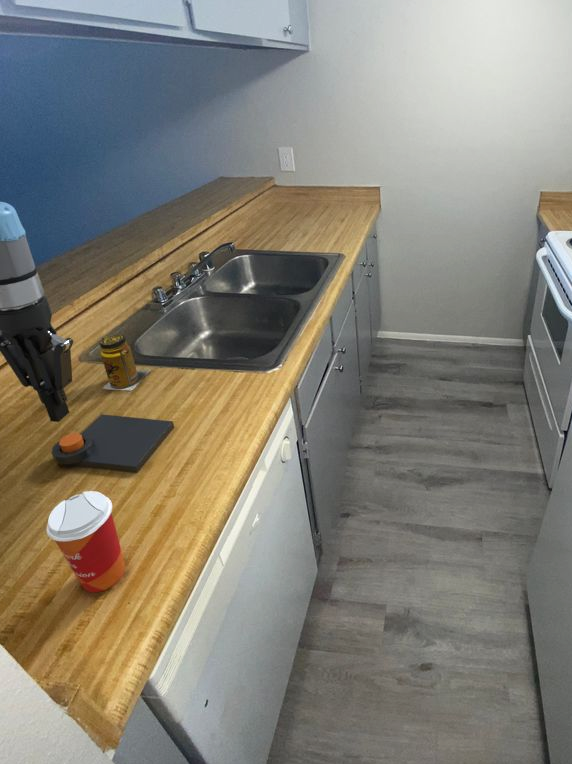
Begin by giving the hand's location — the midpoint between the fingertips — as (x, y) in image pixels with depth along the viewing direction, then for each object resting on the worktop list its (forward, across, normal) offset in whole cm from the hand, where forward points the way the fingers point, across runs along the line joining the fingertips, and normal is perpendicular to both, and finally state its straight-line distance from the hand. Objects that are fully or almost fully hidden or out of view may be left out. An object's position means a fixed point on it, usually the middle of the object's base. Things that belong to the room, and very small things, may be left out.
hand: (60, 416), depth 86 cm
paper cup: (+11, -20, +21) cm, 31 cm away
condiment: (+11, +6, -26) cm, 29 cm away
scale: (+11, -6, -5) cm, 13 cm away
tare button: (+7, 0, 0) cm, 7 cm away
